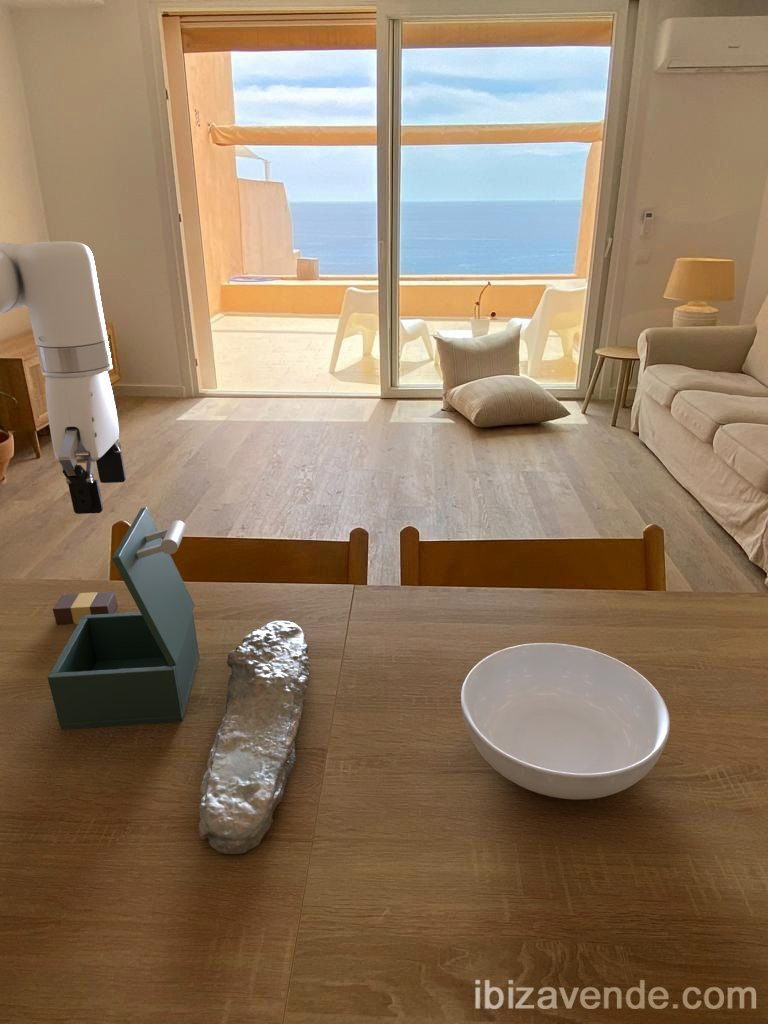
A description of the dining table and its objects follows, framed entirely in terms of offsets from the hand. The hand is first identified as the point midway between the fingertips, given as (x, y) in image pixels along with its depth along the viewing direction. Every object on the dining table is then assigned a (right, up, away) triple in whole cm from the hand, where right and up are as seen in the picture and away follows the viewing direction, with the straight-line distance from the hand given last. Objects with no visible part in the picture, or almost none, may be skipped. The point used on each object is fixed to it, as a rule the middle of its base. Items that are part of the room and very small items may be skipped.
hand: (101, 496), depth 86 cm
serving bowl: (+54, -28, -11) cm, 61 cm away
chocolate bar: (-8, -17, +15) cm, 24 cm away
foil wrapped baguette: (+21, -27, -7) cm, 35 cm away
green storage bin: (+4, -24, -1) cm, 24 cm away
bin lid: (+9, -10, -7) cm, 15 cm away
